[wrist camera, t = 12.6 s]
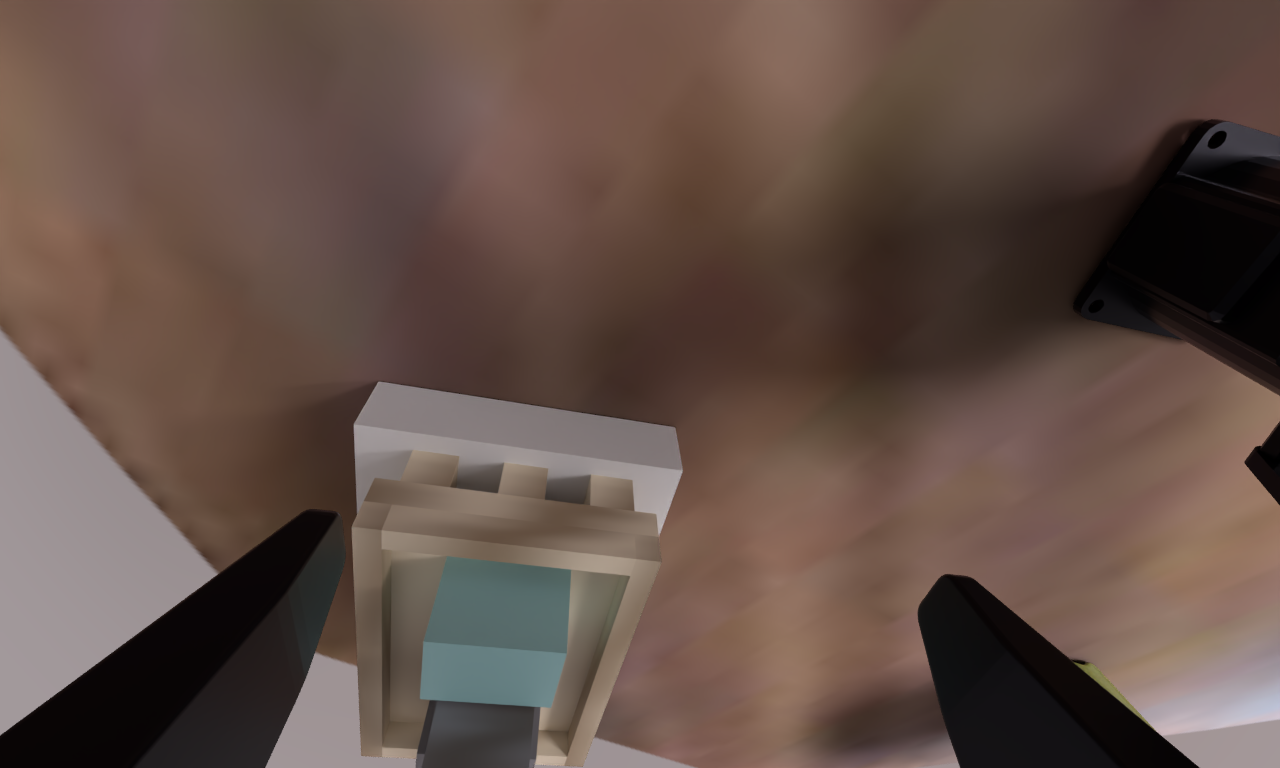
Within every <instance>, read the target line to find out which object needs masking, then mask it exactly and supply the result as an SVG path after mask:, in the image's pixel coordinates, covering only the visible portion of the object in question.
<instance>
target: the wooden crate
mask: <svg viewBox="0 0 1280 768" xmlns="http://www.w3.org/2000/svg"><path fill="white" fill-rule="evenodd" d="M458 465H459V456H455V455H447V454H440V453H433V452H426V451H418V450H413V451H412V453H411V456H410V458H409V461H408V463H407V465H406V468H405V470H404V473H403V475H402V478H401V480H400V481H397V480H389V479H381V478H374V480H373V482H372V484H371V487H370V489H369V491H368V493H367V495H366V497H365V499H364V501H363V504H362V506H361V508H360V510H359V512H358V514H357V516H356V518H355V521H354V523H353V525H352V549H353V572H354V596H355V619H356V643H357V666H358V689H359V713H360V734H361V756H371V757H393V758H413V759H416V757H417V750H418V746H419V742H420V738H421V734H422V730H423V726H424V721H425V717H426V713H427V709H428V705H429V701H430V700H425V699H420V689H421V673H422V657H423V642H424V638H425V634H426V631H427V627H428V623H429V620H430V616H431V613H432V609H433V605H434V602H435V598H436V594H437V591H438V587H439V583H440V580H441V576H442V573H443V569H444V565H445V562H446V558H447V556H450V557H459V558H469V559H478V560H487V561H496V562H506V563H515V564H524V565H533V566H542V567H552V568H561V569H570V570H571V584H570V603H569V623H568V643H567V655H566V658H565V662H564V665H563V669H562V672H561V676H560V679H559V682H558V686H557V689H556V693H555V696H554V700H553V703H552V706H551V708H546V707H541V708H540V720H539V732H538V744H537V756H536V762H535V764H538V765H558V766H579V767H583V764H584V762H585V759H586V757H587V754H588V751H589V748H590V746H591V744H592V741H593V739H594V736H595V733H596V731H597V728H598V726H599V723H600V720H601V718H602V715H603V713H604V710H605V707H606V705H607V702H608V700H609V697H610V694H611V692H612V689H613V687H614V684H615V681H616V679H617V676H618V674H619V671H620V669H621V666H622V663H623V661H624V658H625V656H626V653H627V650H628V648H629V645H630V643H631V640H632V637H633V635H634V632H635V630H636V627H637V624H638V622H639V619H640V617H641V614H642V611H643V609H644V606H645V604H646V601H647V599H648V596H649V593H650V591H651V588H652V586H653V583H654V580H655V578H656V575H657V573H658V570H659V567H660V565H661V562H662V561H661V552H660V543H659V534H658V525H657V516H656V514H653V513H645V512H637V511H635V509H634V495H633V480H628V479H621V478H614V477H606V476H599V475H592V474H591V476H590V480H589V484H588V488H587V492H586V495H585V499H584V503H583V504H575V503H567V502H560V501H552V500H545V493H546V484H547V475H548V468H541V467H534V466H527V465H520V464H512V463H505V462H504V466H503V471H502V476H501V481H500V486H499V491H498V493H490V492H482V491H474V490H467V489H459V488H456V487H457V476H458ZM534 708H535V707H531V706H516V705H501V704H486V703H471V702H455V701H440V700H437V704H436V708H435V713H434V717H433V721H432V725H431V730H430V734H429V738H428V743H427V747H426V751H425V756H424V760H423V764H422V768H529V762H530V751H531V741H532V730H533V719H534Z"/></svg>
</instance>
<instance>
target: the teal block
mask: <svg viewBox="0 0 1280 768" xmlns="http://www.w3.org/2000/svg"><path fill="white" fill-rule="evenodd" d="M570 584H571V570H570V569H561V568H552V567H542V566H533V565H524V564H515V563H506V562H496V561H487V560H478V559H469V558H459V557H450V556H447V558H446V562H445V565H444V569H443V573H442V576H441V580H440V583H439V587H438V591H437V594H436V598H435V602H434V605H433V609H432V613H431V616H430V620H429V623H428V627H427V631H426V634H425V638H424V642H423V657H422V673H421V689H420V699H425V700H440V701H455V702H471V703H486V704H501V705H516V706H531V707H546V708H551V706H552V703H553V700H554V696H555V693H556V689H557V686H558V682H559V679H560V676H561V672H562V669H563V665H564V662H565V658H566V655H567V643H568V623H569V603H570Z"/></svg>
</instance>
